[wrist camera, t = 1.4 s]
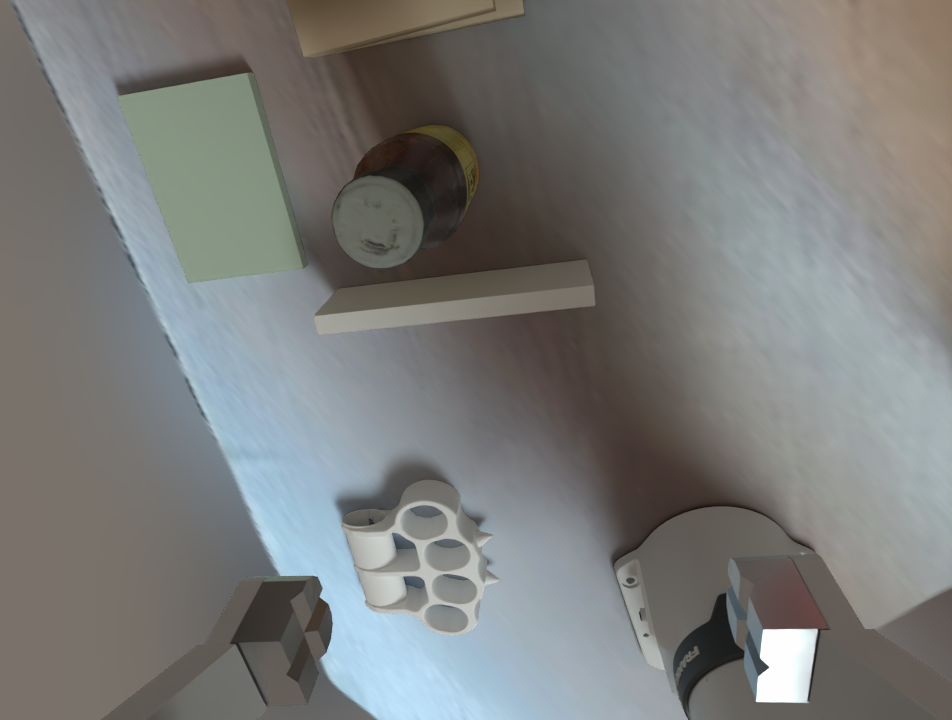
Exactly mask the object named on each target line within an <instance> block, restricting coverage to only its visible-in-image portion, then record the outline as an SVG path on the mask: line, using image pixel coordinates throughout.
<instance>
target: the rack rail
mask: <svg viewBox="0 0 952 720" xmlns="http://www.w3.org/2000/svg"><path fill="white" fill-rule="evenodd" d="M589 306H595V294H594V283H593V280H592V276H591V272H590V269H589V265H588V261H587V259H585V260H577V261H568V262H560V263H551V264H543V265H534V266H526V267H517V268H509V269H500V270H492V271H483V272H475V273H466V274H458V275H449V276H441V277H432V278H424V279H415V280H407V281H398V282H390V283H381V284H373V285H365V286H356V287H348V288H339V289H338V290H337V291H336V292H335V293H334V294H333V295H332V296H331V297H330V299H329V300H328V301H327V302H326V303H325V304H324V305H323V306H322V307H321V308H320V310H319V311H318V312H317V313H316V314H315V315H314V316H313V317H314V320H315V323H316V327H317V330H318V334H319V335H325V334H334V333H343V332H353V331H362V330H372V329H381V328H391V327H400V326H410V325H419V324H429V323H438V322H447V321H457V320H466V319H476V318H485V317H495V316H504V315H514V314H523V313H533V312H542V311H551V310H561V309H570V308H580V307H589Z"/></svg>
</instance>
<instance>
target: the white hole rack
mask: <svg viewBox="0 0 952 720" xmlns="http://www.w3.org/2000/svg"><path fill="white" fill-rule="evenodd" d="M460 497H461V495H460V493H459V492H458V491H457V490H456V489H455V488H453V487H452V486H450V485H449V484H446V483H444V482H441V481H437V480H422V481H418V482H415V483H413V484H411V485H410V486H408V487H407V488H406V489H405V491H404V492H403V494H402V496H401V499H400V503H399V505H397V506H396V507H395V508H393V509H392V510H379V509H361V510H357V511H353V512H350V513H348V514H346V515H345V516H344V517H343V518H342V526H341V527H342V530H343V531H345V533H346V536H347V539H348V543H349V546H350V549H351V552H352V556H353V559H354V562H355V563H354V568H355V570H357V572H358V575H359V578H360V582H361V585H362V588H363V591H364V595H365V598H366V600H365V604H366V606H367V607H369V609H371V610H372V611H375V612H378V613H388V614H404V613H407V614H410V615H412V616H415V617H417V618H419V619H420V621H421V622H422V623H423V624H424V625H425V626H426V627H427V628H428V629H430V630H431V631H433V632H436V633H438V634H442V635H448V636H456V635H461V634H465V633H467V632H469V631H470V630H472V629H473V628H474V627H475V626H476V624H477V622H478V618H479V609H480V599H481V598H482V597H483V593H484V587H485V586H486V585H489V584H492V583H494V582H497V581H500V579H499V578H498V577H496V576H495V575H494V574H492V573H491V572H490V571H488V570H487V562H488V561H487V560H486V559H485V557H484V556H483V554H482V552H481V551H482V545H483V544H484V543H485V542H486V541H488V540H489V539H490V538H491V537H492V536H493V535H492V534H489V533H485V532H481V531H480V530H479V528H478V526H477V524H476V522H475V521H473V520H471V519H470V518H469V517H468V516H467V515H466V514H465V513H464V511H463V510H462V507H461V504H460ZM419 505H430V506H433V507H436V508H438V509H439V510H441V511H442V512H443V514H441V515H438V516H434V517H430V518H425V517H420V516H418V515H416V514H414V513H413V512H412V511H411V510H410V508H413V507H416V506H419ZM370 518H371V519H372V520H373V522H374V524H372V525H369V519H370ZM392 533H398V534H400V535H402V536H403V537H404V538H406V539H407V540H409V541H412V542H413V543H414V544H415V546H416V549H396V547H395V543H394V539H393V535H392ZM441 539H455V540H458V541H460V542H462V543H463V544H464V545H462V546H459V547H455V548H443V547H440V546H438V545H436V544H435V543H434V541H438V540H441ZM442 574H453V575H459V576H463V577H466V578H468V580H457V579H452V578H448V577H446V576H444V575H442ZM403 576H418V577H420V578H422V579H423V580H424V583H425V586H424V587H423V588H416V587H413V586H411V585H409V586H406V584H405V581H404V577H403ZM438 604H443V605H448V606H453V607H456V608H449V607H444V606H440V605H438Z"/></svg>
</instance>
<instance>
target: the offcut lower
mask: <svg viewBox="0 0 952 720" xmlns="http://www.w3.org/2000/svg"><path fill="white" fill-rule="evenodd" d="M494 1H495V6H496V11H495V12H491V13H487V14H483V15H479V16H476V17H472V18H468V19H464V20H460V21H456V22H452V23H449V24H445V25H441V26H437V27H433V28H429V29H425V30H422V31H418V32H414V33H410V34H406V35H402V36H398V37H395V38H391V39H387V40H383V41H379V42H375V43H371V44H368V45H364V46H360V47H356V48H352V49H348V50H344V51H341V52H346V51H351V50H356V49H361V48H365V47H370V46H375V45H380V44H385V43H390V42H395V41H400V40H405V39H410V38H415V37H420V36H425V35H430V34H435V33H440V32H445V31H450V30H455V29H460V28H465V27H470V26H475V25H480V24H485V23H490V22H495V21H500V20H505V19H510V18H515V17H520V16H524V15H525V13H524V4H523V0H494ZM341 52H337V53H341ZM333 54H336V53H333ZM329 55H331V54H329ZM325 56H326V55H325Z"/></svg>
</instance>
